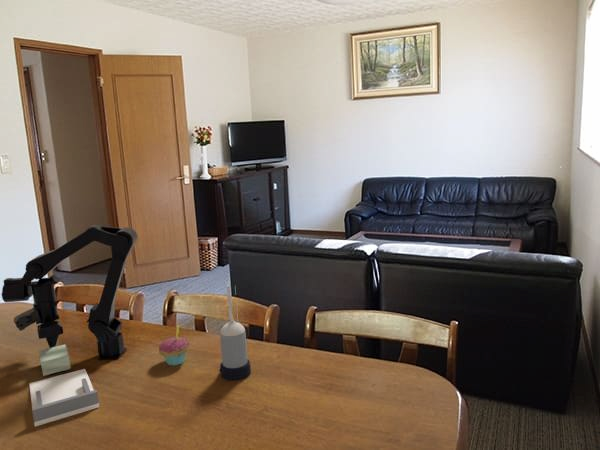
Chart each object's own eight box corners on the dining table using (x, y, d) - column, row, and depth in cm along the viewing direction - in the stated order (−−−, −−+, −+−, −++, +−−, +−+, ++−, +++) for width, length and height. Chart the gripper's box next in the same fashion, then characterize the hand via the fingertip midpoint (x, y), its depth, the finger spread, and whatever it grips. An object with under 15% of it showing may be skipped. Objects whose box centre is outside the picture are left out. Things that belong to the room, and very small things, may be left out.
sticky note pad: (41, 365, 144) (38, 350, 144) (67, 359, 148) (65, 344, 147) (43, 378, 137) (41, 362, 136) (71, 370, 140) (68, 355, 139)
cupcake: (194, 355, 147) (190, 316, 144) (185, 369, 138) (181, 328, 136) (166, 355, 148) (162, 317, 145) (155, 368, 139) (150, 328, 137)
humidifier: (217, 370, 137) (210, 283, 132) (246, 364, 140) (240, 278, 135) (223, 383, 130) (216, 292, 125) (254, 377, 132) (248, 287, 127)
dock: (29, 386, 134) (27, 369, 134) (85, 372, 141) (83, 355, 140) (35, 430, 114) (32, 410, 113) (99, 410, 121) (97, 392, 120)
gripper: (12, 296, 148) (20, 345, 151) (13, 314, 132) (22, 369, 135) (54, 288, 154) (61, 336, 157) (59, 305, 138) (67, 358, 141)
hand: (52, 349), depth 147 cm, fingers closed
